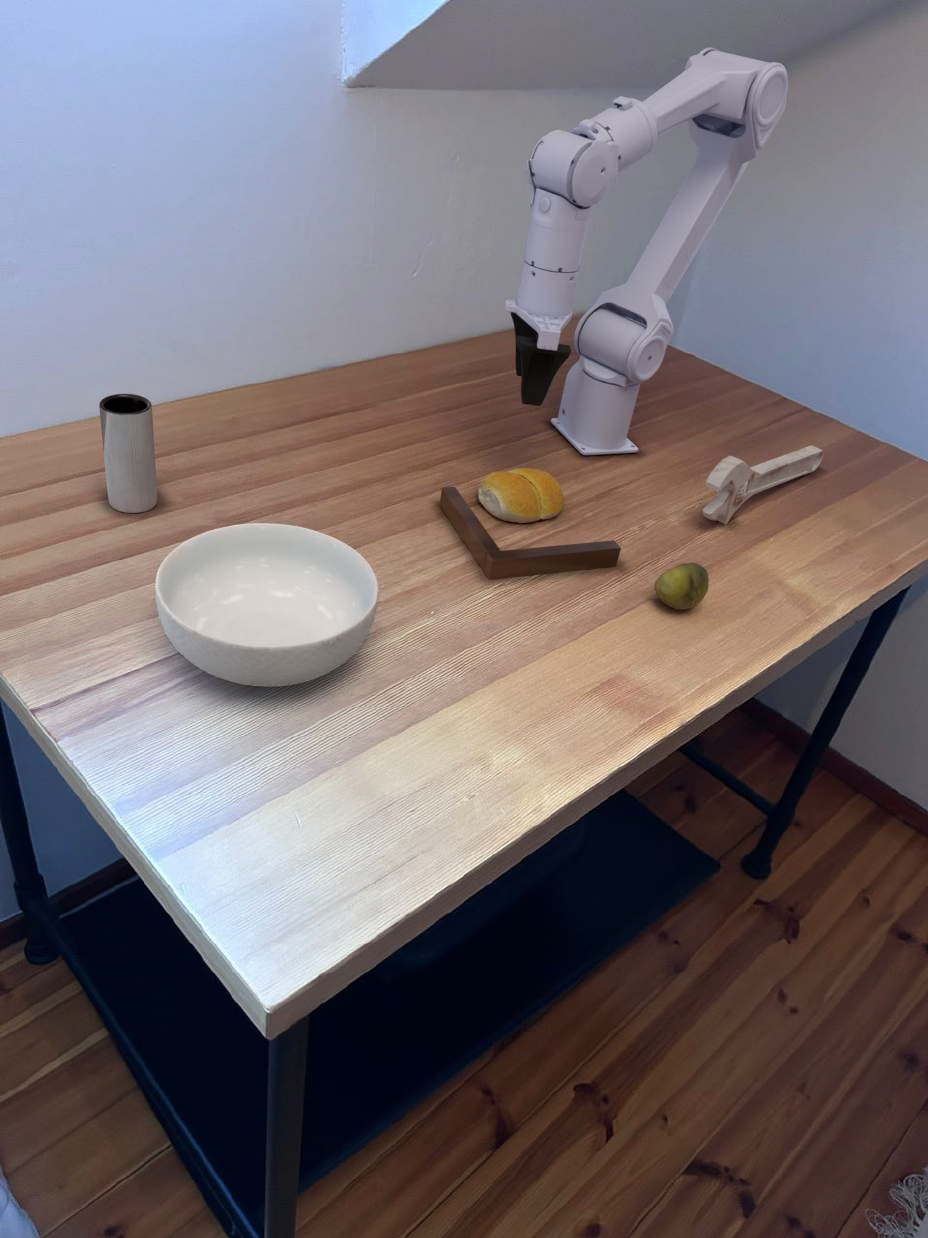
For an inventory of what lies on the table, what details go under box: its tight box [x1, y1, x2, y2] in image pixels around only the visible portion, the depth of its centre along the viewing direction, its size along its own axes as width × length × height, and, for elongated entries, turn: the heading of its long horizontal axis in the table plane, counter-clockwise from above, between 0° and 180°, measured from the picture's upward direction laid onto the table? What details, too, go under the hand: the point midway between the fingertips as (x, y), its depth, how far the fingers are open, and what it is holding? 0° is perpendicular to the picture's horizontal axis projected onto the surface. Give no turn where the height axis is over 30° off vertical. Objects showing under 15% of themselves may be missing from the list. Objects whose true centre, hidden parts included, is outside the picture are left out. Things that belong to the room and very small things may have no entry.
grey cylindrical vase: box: [98, 393, 158, 514], centre depth 89 cm, size 4×4×10 cm
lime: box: [654, 562, 710, 610], centre depth 89 cm, size 4×5×5 cm
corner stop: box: [439, 486, 622, 580], centre depth 97 cm, size 14×14×2 cm
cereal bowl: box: [154, 522, 380, 688], centre depth 75 cm, size 17×17×7 cm
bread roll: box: [477, 467, 564, 524], centre depth 101 cm, size 8×9×4 cm
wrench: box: [701, 445, 825, 526], centre depth 110 cm, size 8×2×30 cm
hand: (528, 389), depth 104 cm, fingers open, 7 cm apart
